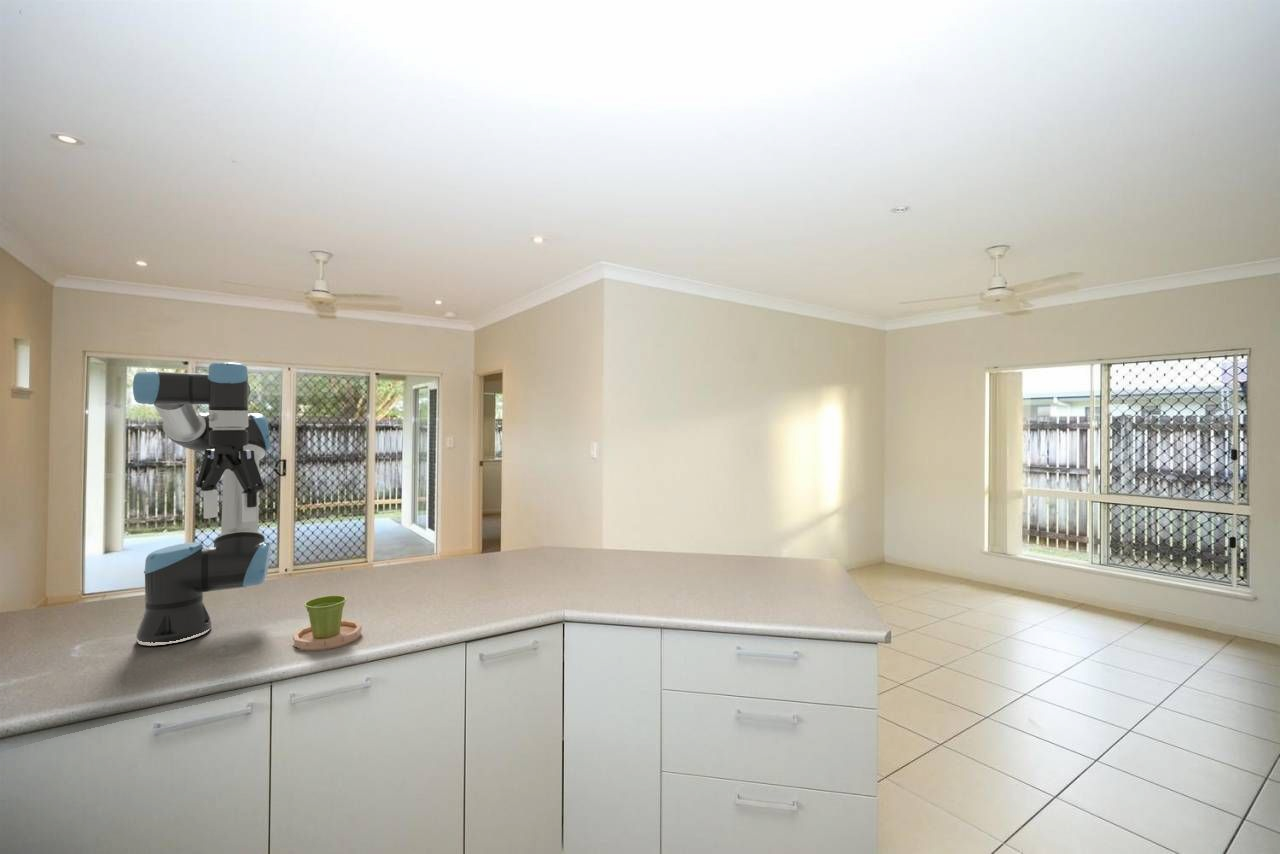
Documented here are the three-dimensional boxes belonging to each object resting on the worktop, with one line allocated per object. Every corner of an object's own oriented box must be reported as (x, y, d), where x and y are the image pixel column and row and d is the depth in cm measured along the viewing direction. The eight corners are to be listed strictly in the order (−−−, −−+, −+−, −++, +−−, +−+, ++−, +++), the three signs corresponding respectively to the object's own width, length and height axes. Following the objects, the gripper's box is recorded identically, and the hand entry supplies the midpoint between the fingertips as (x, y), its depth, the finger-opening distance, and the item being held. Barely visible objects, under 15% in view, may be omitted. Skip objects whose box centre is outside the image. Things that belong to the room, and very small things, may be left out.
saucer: (279, 645, 142) (279, 636, 142) (332, 625, 156) (332, 617, 156) (323, 654, 137) (323, 645, 137) (373, 633, 151) (373, 624, 151)
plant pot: (315, 644, 140) (314, 609, 140) (298, 636, 146) (297, 602, 145) (353, 633, 147) (353, 599, 147) (336, 625, 153) (335, 593, 153)
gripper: (177, 429, 135) (178, 518, 136) (248, 429, 126) (249, 525, 126) (211, 428, 142) (211, 513, 143) (281, 429, 133) (281, 520, 133)
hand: (229, 519), depth 135 cm, fingers open, 13 cm apart
